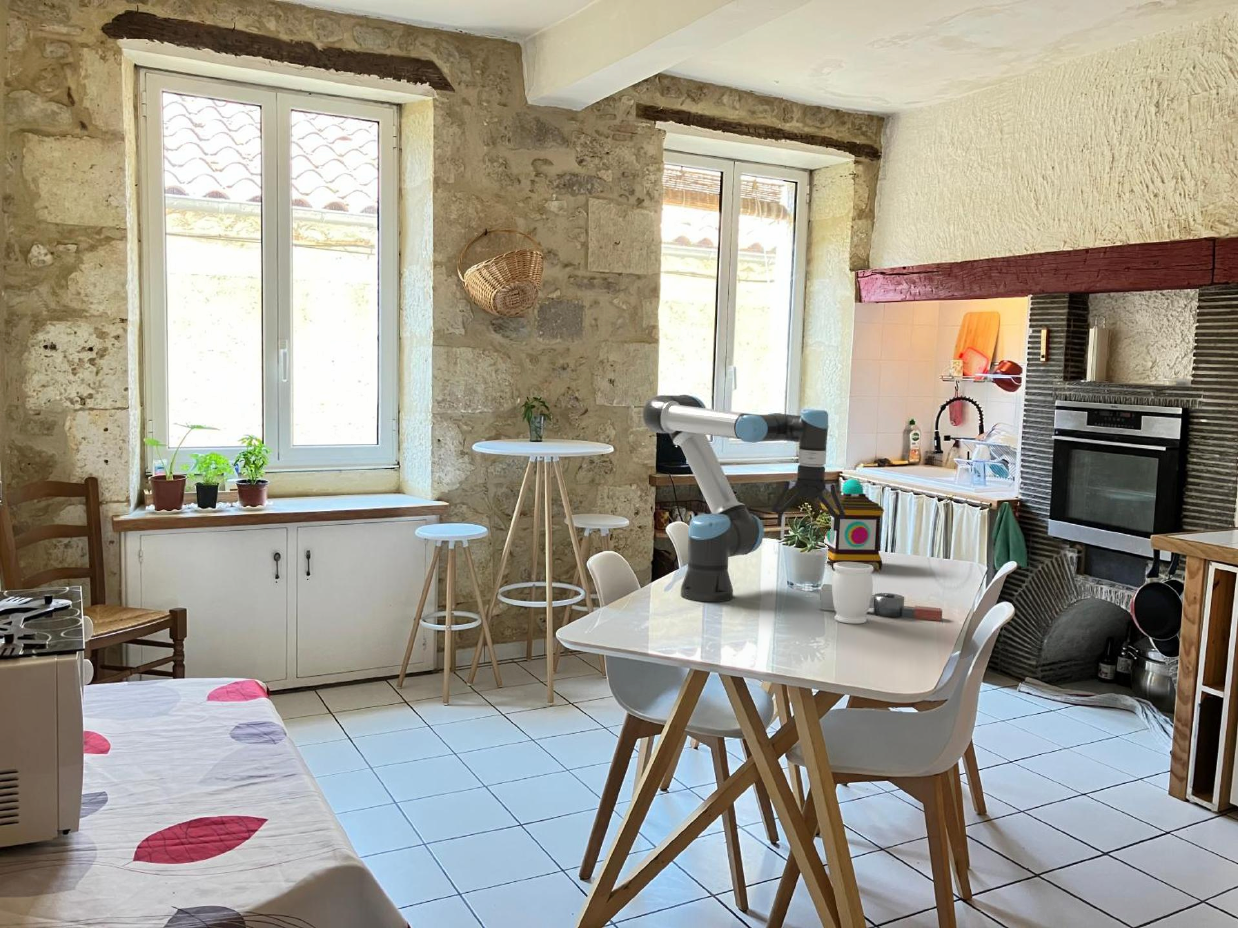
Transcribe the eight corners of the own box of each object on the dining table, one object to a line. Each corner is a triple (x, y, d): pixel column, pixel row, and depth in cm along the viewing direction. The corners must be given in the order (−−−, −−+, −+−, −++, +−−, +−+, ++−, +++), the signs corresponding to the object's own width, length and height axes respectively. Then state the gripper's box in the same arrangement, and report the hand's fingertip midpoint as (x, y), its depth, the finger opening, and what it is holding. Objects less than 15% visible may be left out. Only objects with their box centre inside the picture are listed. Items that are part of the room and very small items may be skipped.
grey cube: (818, 609, 274) (820, 587, 273) (821, 604, 280) (822, 583, 279) (842, 611, 272) (843, 590, 271) (843, 606, 278) (845, 585, 277)
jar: (847, 627, 256) (850, 570, 255) (822, 617, 265) (825, 562, 264) (879, 623, 261) (882, 567, 260) (852, 613, 270) (855, 560, 269)
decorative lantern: (811, 559, 347) (815, 474, 344) (865, 560, 350) (870, 475, 347) (829, 571, 328) (834, 481, 325) (887, 571, 330) (892, 482, 327)
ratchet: (857, 614, 270) (858, 594, 269) (859, 608, 277) (860, 588, 277) (941, 623, 263) (943, 602, 263) (941, 616, 271) (942, 596, 270)
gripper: (765, 463, 274) (760, 538, 277) (857, 469, 268) (851, 546, 271) (768, 460, 282) (763, 533, 284) (857, 466, 276) (852, 541, 278)
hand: (806, 540), depth 277 cm, fingers open, 13 cm apart
